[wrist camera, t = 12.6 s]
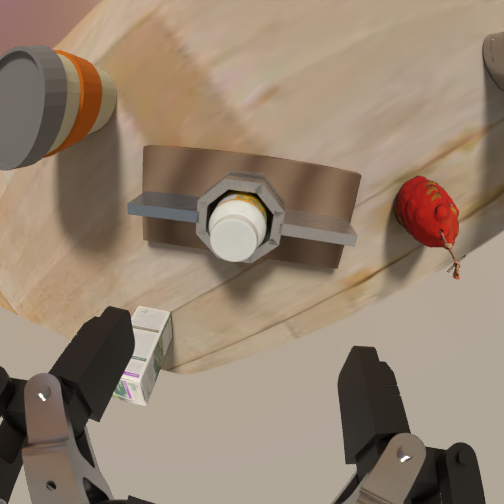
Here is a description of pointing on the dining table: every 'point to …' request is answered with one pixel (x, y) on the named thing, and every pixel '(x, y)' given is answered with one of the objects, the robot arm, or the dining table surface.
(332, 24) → the dining table surface
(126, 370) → the syrup box
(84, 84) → the reusable coffee cup
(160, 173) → the board
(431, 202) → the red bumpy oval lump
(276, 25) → the dining table surface
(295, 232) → the grey winged octagonal holder
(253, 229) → the supplement bottle
